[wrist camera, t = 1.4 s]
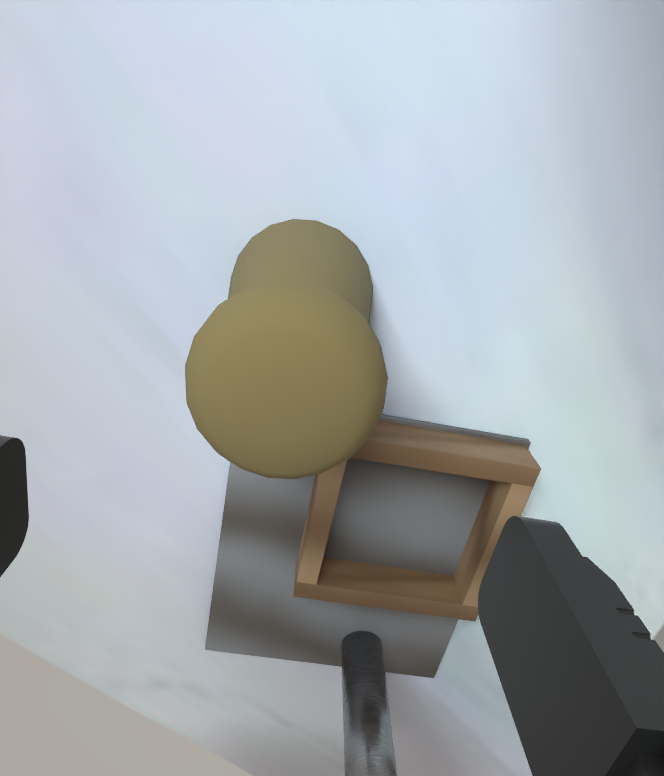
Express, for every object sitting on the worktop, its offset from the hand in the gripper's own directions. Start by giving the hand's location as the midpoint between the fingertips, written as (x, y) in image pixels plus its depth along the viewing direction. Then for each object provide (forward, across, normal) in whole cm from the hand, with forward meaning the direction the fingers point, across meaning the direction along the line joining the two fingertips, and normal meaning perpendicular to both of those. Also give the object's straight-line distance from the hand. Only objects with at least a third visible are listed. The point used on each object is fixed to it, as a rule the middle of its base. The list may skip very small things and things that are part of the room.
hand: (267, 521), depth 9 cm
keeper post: (+15, -7, +20) cm, 26 cm away
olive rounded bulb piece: (+15, 0, 0) cm, 15 cm away
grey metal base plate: (+15, -5, +13) cm, 20 cm away
